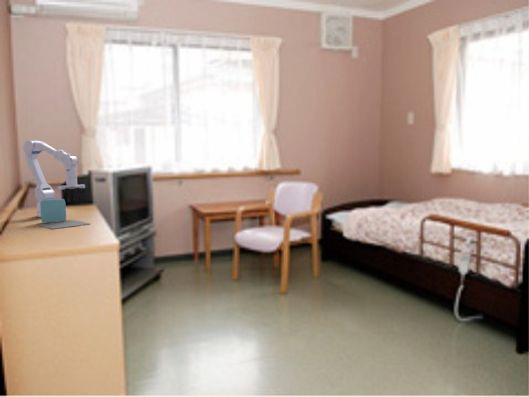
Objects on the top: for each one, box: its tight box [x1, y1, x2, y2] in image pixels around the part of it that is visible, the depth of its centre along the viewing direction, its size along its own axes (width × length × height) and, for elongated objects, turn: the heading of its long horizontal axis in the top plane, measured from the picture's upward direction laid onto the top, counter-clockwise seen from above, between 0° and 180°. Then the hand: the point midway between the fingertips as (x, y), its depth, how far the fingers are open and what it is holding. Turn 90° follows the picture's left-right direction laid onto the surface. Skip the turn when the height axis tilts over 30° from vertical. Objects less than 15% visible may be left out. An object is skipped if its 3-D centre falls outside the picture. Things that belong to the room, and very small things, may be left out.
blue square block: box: [40, 198, 67, 224], centre depth 248 cm, size 12×4×12 cm, turn 113°
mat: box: [37, 219, 91, 230], centre depth 241 cm, size 16×20×1 cm
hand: (72, 201), depth 262 cm, fingers open, 3 cm apart
